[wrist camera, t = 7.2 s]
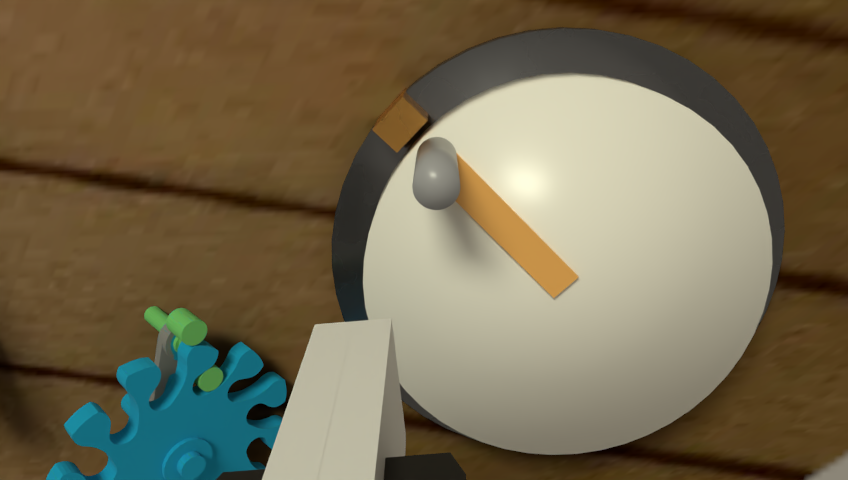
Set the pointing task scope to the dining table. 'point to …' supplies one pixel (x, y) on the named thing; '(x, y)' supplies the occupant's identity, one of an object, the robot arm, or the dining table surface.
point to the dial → (567, 263)
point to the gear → (180, 410)
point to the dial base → (513, 62)
